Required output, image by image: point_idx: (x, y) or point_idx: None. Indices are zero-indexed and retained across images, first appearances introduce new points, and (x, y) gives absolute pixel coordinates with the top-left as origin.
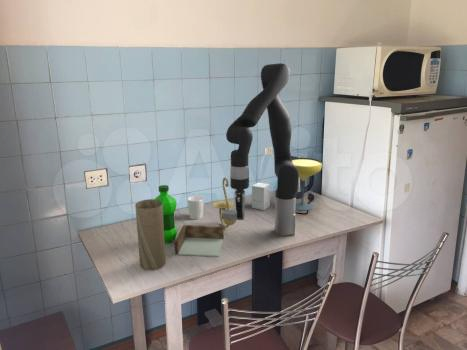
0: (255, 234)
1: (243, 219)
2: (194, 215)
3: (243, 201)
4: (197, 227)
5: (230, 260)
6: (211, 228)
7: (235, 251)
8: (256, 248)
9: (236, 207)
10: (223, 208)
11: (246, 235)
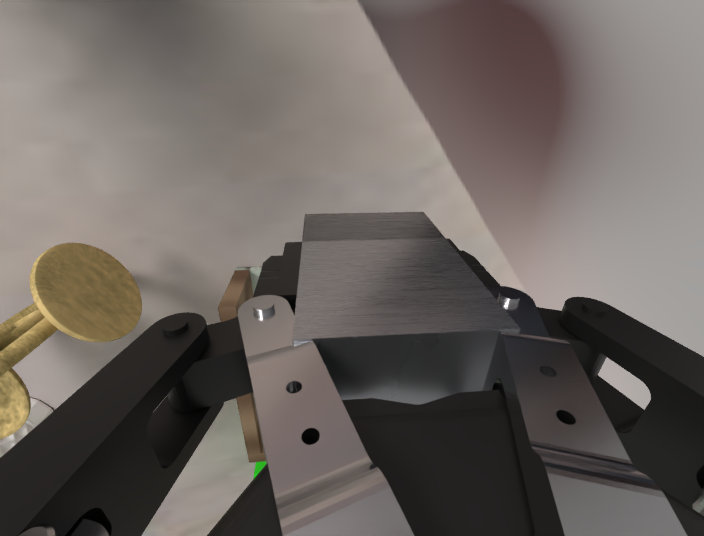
0: (114, 82)
1: (424, 215)
2: None
3: (582, 371)
4: (255, 411)
5: (466, 209)
6: None
7: (374, 195)
8: (328, 69)
9: (612, 394)
10: (17, 375)
11: (153, 147)
